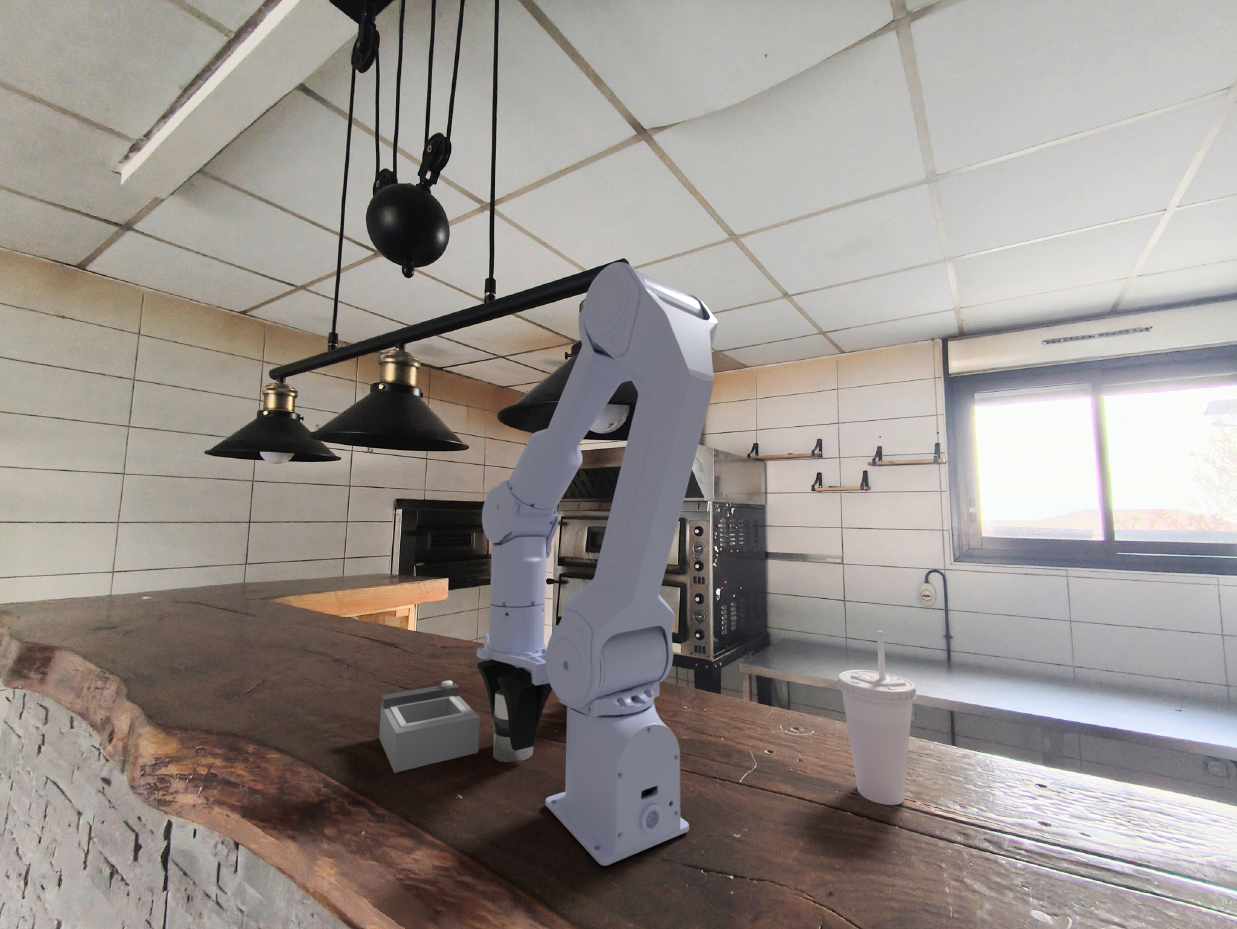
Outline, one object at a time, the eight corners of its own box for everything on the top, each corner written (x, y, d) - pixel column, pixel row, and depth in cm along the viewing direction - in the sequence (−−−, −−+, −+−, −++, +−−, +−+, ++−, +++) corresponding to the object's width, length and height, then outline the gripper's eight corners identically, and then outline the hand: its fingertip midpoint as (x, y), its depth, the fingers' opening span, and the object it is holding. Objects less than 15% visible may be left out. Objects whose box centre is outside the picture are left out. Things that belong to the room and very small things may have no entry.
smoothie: (921, 823, 41) (912, 642, 42) (835, 799, 44) (829, 632, 46) (923, 787, 46) (915, 628, 48) (846, 769, 50) (841, 620, 51)
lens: (540, 756, 52) (542, 692, 52) (500, 766, 49) (502, 700, 50) (524, 741, 55) (526, 681, 56) (486, 750, 53) (488, 688, 54)
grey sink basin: (478, 752, 52) (480, 701, 53) (394, 772, 48) (397, 717, 49) (453, 722, 60) (455, 678, 60) (379, 738, 56) (381, 690, 56)
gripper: (459, 596, 58) (454, 722, 56) (506, 618, 46) (501, 779, 44) (518, 592, 62) (515, 710, 60) (576, 610, 50) (573, 759, 48)
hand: (513, 738), depth 53 cm, fingers closed on lens, 4 cm apart
